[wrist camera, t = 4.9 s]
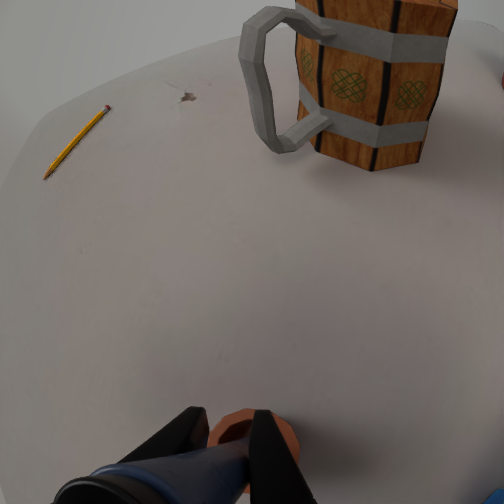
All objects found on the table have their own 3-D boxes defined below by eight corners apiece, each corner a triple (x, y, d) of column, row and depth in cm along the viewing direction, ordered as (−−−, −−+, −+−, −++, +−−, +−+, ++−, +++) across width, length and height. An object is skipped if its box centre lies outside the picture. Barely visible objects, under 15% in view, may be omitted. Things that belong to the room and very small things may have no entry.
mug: (356, 79, 33) (362, -33, 21) (450, 137, 27) (486, 10, 14) (217, 144, 29) (180, -6, 16) (317, 237, 23) (330, 27, 10)
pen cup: (307, 461, 15) (314, 473, 11) (242, 485, 15) (226, 504, 10) (280, 402, 17) (277, 395, 13) (216, 427, 17) (193, 427, 13)
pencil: (111, 108, 36) (109, 105, 36) (45, 183, 30) (42, 179, 30) (107, 108, 36) (105, 104, 36) (41, 182, 31) (38, 178, 30)
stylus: (274, 456, 12) (204, 591, 1) (246, 467, 12) (76, 590, 1) (263, 431, 13) (137, 455, 2) (235, 441, 13) (25, 472, 2)
